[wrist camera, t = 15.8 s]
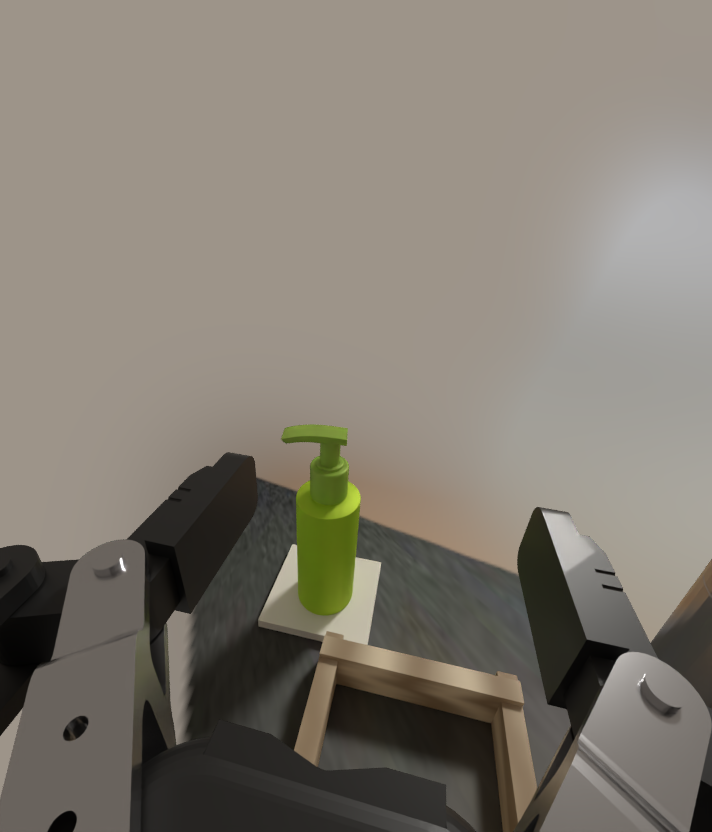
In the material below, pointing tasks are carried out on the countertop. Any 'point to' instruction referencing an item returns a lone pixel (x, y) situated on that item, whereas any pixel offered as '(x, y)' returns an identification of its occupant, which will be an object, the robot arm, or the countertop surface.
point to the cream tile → (297, 620)
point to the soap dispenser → (325, 522)
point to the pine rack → (434, 689)
